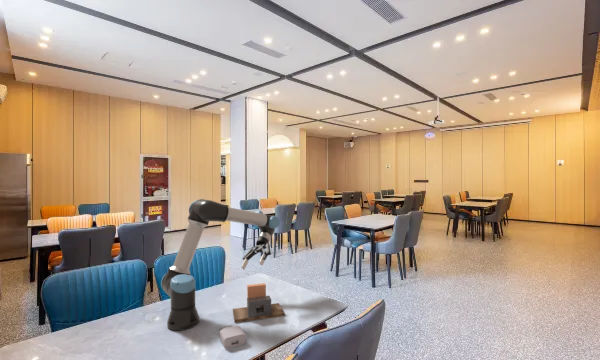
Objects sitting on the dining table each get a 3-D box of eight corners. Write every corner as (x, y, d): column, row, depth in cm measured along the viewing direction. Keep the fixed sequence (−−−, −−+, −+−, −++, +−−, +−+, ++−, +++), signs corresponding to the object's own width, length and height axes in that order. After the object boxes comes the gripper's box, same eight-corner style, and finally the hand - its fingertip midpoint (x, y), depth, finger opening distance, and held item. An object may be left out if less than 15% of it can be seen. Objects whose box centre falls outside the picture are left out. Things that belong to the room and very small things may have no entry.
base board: (234, 322, 156) (234, 319, 156) (232, 311, 169) (232, 308, 169) (284, 315, 163) (284, 313, 163) (278, 305, 177) (278, 303, 177)
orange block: (249, 313, 163) (248, 290, 163) (247, 306, 172) (247, 285, 172) (267, 310, 166) (267, 288, 166) (265, 304, 174) (264, 283, 174)
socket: (248, 317, 158) (248, 302, 158) (247, 313, 164) (246, 298, 164) (271, 314, 161) (271, 299, 161) (269, 310, 167) (269, 295, 167)
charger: (236, 329, 149) (245, 344, 136) (216, 334, 145) (224, 349, 132) (235, 320, 149) (245, 333, 136) (216, 324, 145) (224, 338, 132)
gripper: (282, 240, 192) (272, 266, 175) (251, 249, 203) (239, 274, 185) (276, 231, 189) (265, 257, 172) (245, 241, 200) (232, 265, 183)
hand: (251, 266), depth 179 cm, fingers open, 13 cm apart
